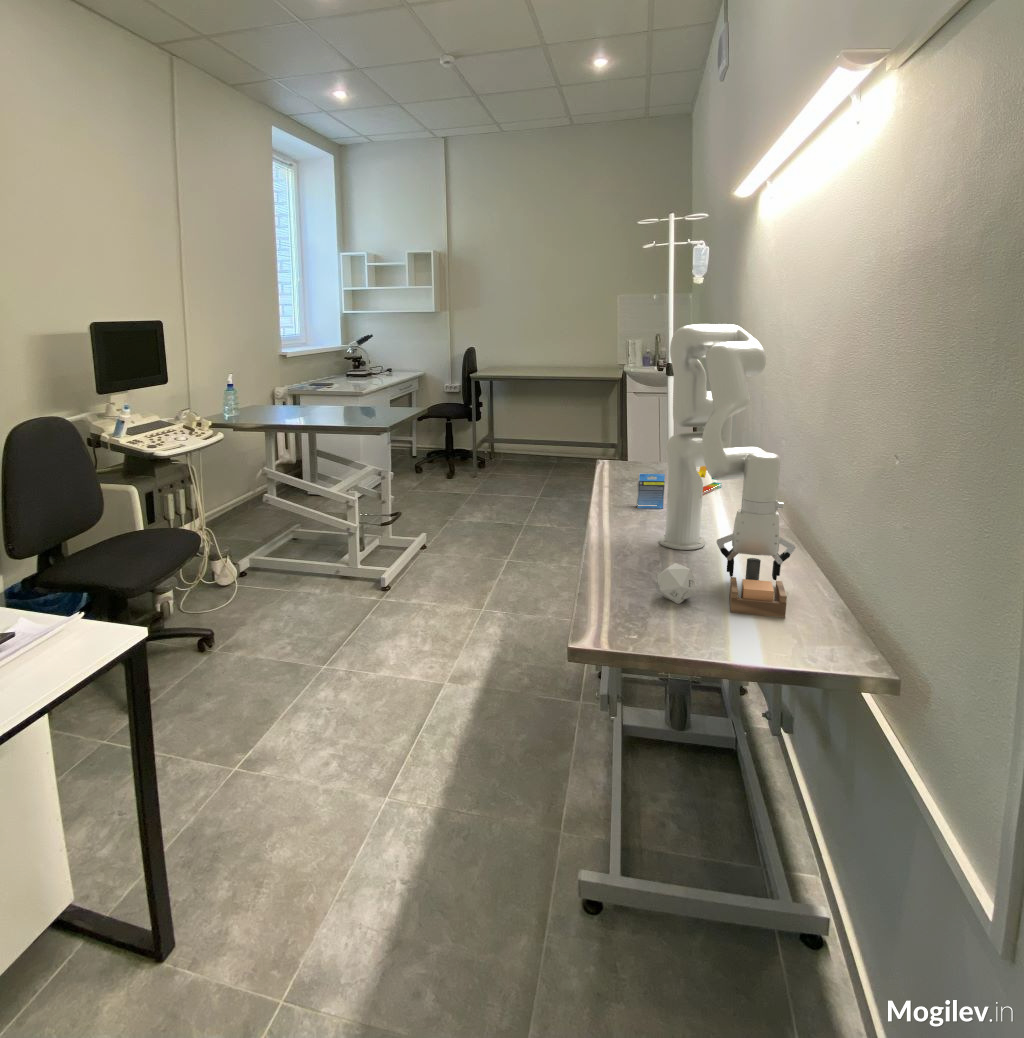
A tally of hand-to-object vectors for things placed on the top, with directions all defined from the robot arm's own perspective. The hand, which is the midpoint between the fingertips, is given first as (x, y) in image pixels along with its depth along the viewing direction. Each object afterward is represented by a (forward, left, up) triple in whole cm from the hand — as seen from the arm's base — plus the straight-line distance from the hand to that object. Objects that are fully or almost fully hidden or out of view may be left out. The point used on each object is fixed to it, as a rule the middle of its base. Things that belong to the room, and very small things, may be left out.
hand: (752, 576), depth 155 cm
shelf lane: (+13, 0, -2) cm, 14 cm away
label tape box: (-69, -29, -2) cm, 74 cm away
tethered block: (+8, 0, -2) cm, 8 cm away
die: (+14, -17, -2) cm, 22 cm away
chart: (-93, -12, -2) cm, 94 cm away
